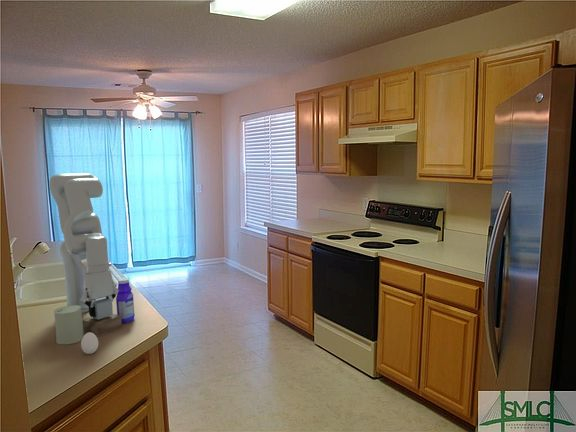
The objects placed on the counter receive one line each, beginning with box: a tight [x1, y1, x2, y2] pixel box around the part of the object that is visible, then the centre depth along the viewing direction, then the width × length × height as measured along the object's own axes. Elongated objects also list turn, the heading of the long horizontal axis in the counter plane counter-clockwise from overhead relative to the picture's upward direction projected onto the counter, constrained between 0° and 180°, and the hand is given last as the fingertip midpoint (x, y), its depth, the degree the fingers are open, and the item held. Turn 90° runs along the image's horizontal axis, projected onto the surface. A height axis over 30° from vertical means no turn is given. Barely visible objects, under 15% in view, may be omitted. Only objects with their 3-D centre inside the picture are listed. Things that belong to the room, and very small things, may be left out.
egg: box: [80, 332, 99, 355], centre depth 149 cm, size 5×5×7 cm
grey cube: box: [89, 297, 114, 319], centre depth 171 cm, size 6×6×6 cm
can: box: [53, 305, 85, 345], centre depth 162 cm, size 9×9×12 cm
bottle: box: [115, 277, 135, 324], centre depth 180 cm, size 7×6×17 cm
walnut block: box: [82, 313, 123, 337], centre depth 171 cm, size 10×10×5 cm
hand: (101, 313), depth 171 cm, fingers closed on grey cube, 6 cm apart
